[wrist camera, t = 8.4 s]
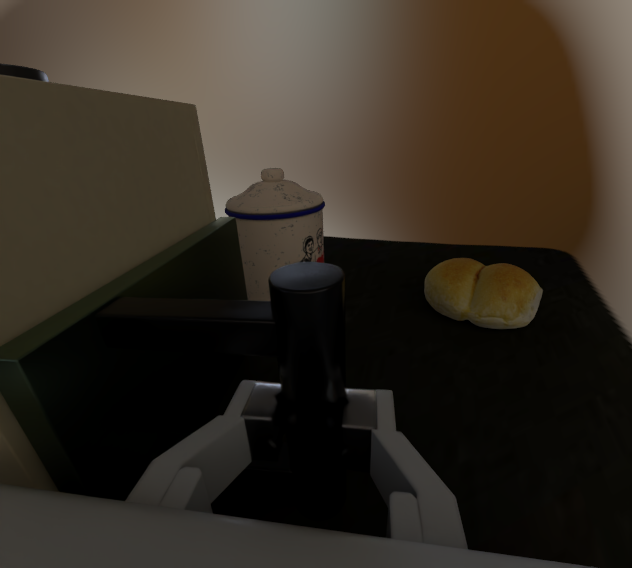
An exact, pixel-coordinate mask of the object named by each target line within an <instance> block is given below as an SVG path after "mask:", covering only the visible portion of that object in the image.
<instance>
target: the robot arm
mask: <svg viewBox="0 0 632 568" xmlns="http://www.w3.org/2000/svg"><path fill="white" fill-rule="evenodd" d="M285 432H286V429H285V421H284V412H283V404H282V395H281V386H280V383H276V382H265V381H252V380H243V381H242V382H241V383H240V384H239V386H238V388H237V390H236V392H235V394H234V396H233V398H232V400H231V402H230V403H229V405H228V407H227V409H226V411H225V413H224V415H223V416H221V415H219V416H217V417H216V418H214V419H213V420H211V421H210V422H208V423H207V424H205V425H204V426H203V427H201V428H200V429H198V430H197V431H195V432H194V433H192V434H191V435H189V436H188V437H186V438H185V439H183V440H182V441H180V442H179V443H178V444H176V445H175V446H173V447H172V448H170V449H169V450H167V451H166V452H164V453H163V454H161V455H160V456H158V457H157V458H155V459H154V460H153V461H152V462H151V463H150V465H149V466H148V468H147V469H146V471H145V472H144V474H143V475H142V477H141V478H140V480H139V481H138V483H137V484H136V485H135V487H134V488H133V490H132V491H131V493H130V494H129V496H128V497H127V499H126V500H125V501H120V500H113V499H106V498H99V497H92V496H84V495H77V494H70V493H63V492H56V491H49V490H42V489H35V488H27V487H20V486H13V485H6V484H0V568H596V567H589V566H582V565H575V564H568V563H561V562H554V561H546V560H539V559H532V558H525V557H518V556H511V555H504V554H497V553H489V552H482V551H475V550H468V548H467V543H466V539H465V535H464V531H463V526H462V522H461V518H460V514H459V510H458V505H457V501H456V497H455V496H454V495H453V494H452V492H451V491H450V490H449V489H448V488H447V486H446V485H445V484H444V483H443V482H442V480H441V479H440V478H439V477H438V476H437V474H436V473H435V472H434V471H433V470H432V468H431V467H430V466H429V465H428V464H427V462H426V461H425V460H424V459H423V458H422V456H421V455H420V454H419V453H418V452H417V450H416V449H415V448H414V447H413V446H412V444H411V443H410V442H409V441H408V440H407V438H406V437H405V436H404V435H403V434H402V432H397V431H396V424H395V413H394V402H393V392H392V391H391V390H377V389H376V390H373V389H358V388H346V393H345V407H343V417H342V443H343V447H342V469H346V470H353V471H360V472H367V473H370V475H371V477H372V479H373V481H374V483H375V484H376V486H377V488H378V490H379V492H380V494H381V496H382V497H383V499H384V501H385V503H386V505H387V507H388V519H387V531H386V538H383V537H376V536H369V535H361V534H354V533H347V532H340V531H333V530H326V529H319V528H311V527H304V526H297V525H290V524H283V523H275V522H268V521H261V520H254V519H247V518H240V517H233V516H226V515H219V514H213V512H212V508H211V503H212V502H213V501H214V500H215V499H216V498H217V497H218V496H219V495H220V494H221V493H222V492H223V491H224V490H225V488H226V487H227V486H228V485H229V484H230V483H231V482H232V481H233V480H234V479H235V478H236V477H237V476H238V475H239V474H240V473H241V472H242V471H243V470H244V469H245V468H246V467H247V466H248V465H249V464H250V463H251V462H252V460H262V461H274V462H278V458H279V455H280V451H281V448H282V444H283V441H282V435H283V434H284V433H285Z"/></svg>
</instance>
